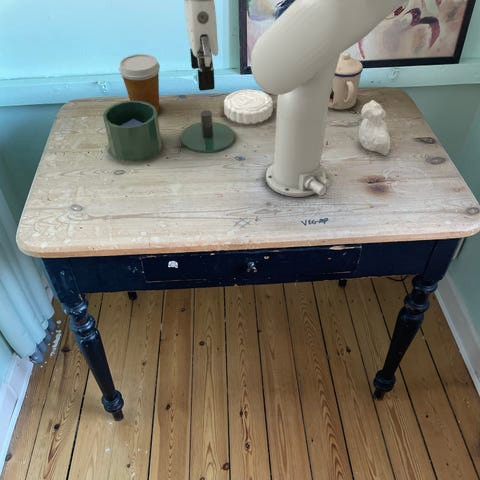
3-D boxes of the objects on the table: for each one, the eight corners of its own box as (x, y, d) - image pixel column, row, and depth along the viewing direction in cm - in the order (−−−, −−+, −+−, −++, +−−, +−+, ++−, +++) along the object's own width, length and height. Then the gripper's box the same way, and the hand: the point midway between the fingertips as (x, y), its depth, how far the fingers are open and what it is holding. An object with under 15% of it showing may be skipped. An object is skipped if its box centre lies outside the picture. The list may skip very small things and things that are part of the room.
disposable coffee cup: (119, 114, 122) (109, 64, 113) (145, 98, 127) (137, 49, 117) (148, 125, 118) (140, 75, 109) (173, 109, 123) (167, 59, 114)
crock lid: (245, 142, 113) (245, 115, 108) (201, 161, 109) (198, 133, 104) (214, 120, 120) (212, 93, 114) (171, 137, 115) (167, 110, 110)
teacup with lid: (316, 94, 127) (321, 47, 118) (349, 91, 128) (357, 43, 119) (330, 118, 120) (337, 69, 111) (365, 114, 121) (375, 65, 112)
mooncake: (255, 96, 127) (255, 82, 124) (281, 116, 121) (282, 102, 118) (215, 109, 123) (214, 95, 120) (240, 130, 117) (240, 116, 114)
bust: (361, 140, 118) (338, 107, 110) (389, 120, 114) (368, 84, 107) (376, 169, 110) (353, 135, 103) (407, 148, 107) (386, 112, 99)
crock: (171, 151, 111) (166, 116, 105) (126, 169, 107) (119, 133, 100) (145, 130, 117) (139, 95, 111) (102, 146, 113) (93, 111, 106)
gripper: (226, 0, 85) (228, 96, 99) (209, -33, 96) (213, 58, 109) (183, 3, 84) (191, 100, 98) (171, -30, 95) (179, 61, 108)
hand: (202, 78), depth 103 cm, fingers open, 9 cm apart
